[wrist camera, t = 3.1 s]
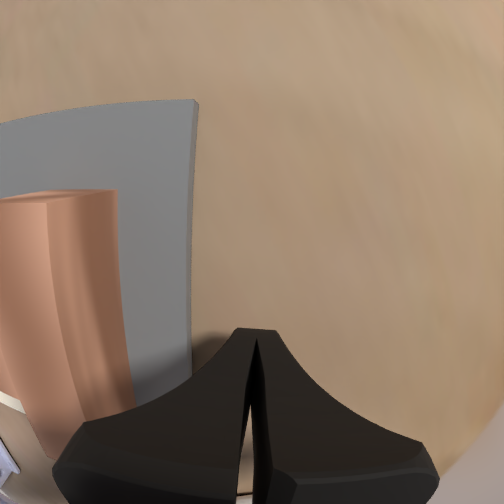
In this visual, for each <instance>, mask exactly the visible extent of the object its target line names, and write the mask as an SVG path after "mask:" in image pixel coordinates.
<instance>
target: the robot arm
mask: <svg viewBox="0 0 504 504" xmlns="http://www.w3.org/2000/svg"><path fill="white" fill-rule="evenodd" d="M250 405H251V418H252V435H253V451H254V475H253V493H252V504H426V503H427V502H428V501H429V499H430V498H431V497H432V495H433V494H434V492H435V491H436V489H437V487H438V485H439V480H440V478H439V475H438V473H437V471H436V469H435V466H434V464H433V462H432V459H431V457H430V455H429V454H428V452H427V450H426V448H425V447H424V445H423V444H422V442H419V441H416V440H413V439H411V438H408V437H405V436H402V435H400V434H397V433H394V432H392V431H389V430H387V429H385V428H383V427H381V426H379V425H377V424H375V423H373V422H371V421H369V420H367V419H365V418H363V417H361V416H360V415H358V414H356V413H355V412H353V411H352V410H350V409H349V408H347V407H346V406H344V405H343V404H341V403H340V402H338V401H337V400H336V399H334V398H333V397H332V396H331V395H329V394H328V393H327V392H326V391H325V390H324V389H322V388H321V387H320V386H319V385H318V384H317V383H316V382H315V381H314V380H313V379H312V378H311V377H310V376H309V375H308V374H307V373H306V372H305V370H304V369H303V368H302V367H301V366H300V364H299V363H298V362H297V361H296V359H295V358H294V357H293V355H292V354H291V353H290V351H289V350H288V348H287V347H286V345H285V344H284V342H283V340H282V339H281V337H280V335H279V334H278V332H277V331H276V330H263V329H249V328H237V329H235V330H234V332H233V333H232V335H231V336H230V338H229V339H228V340H227V342H226V343H225V344H224V345H223V347H222V348H221V349H220V350H219V351H218V352H217V353H216V354H215V355H214V357H213V358H212V359H211V360H210V361H208V362H207V363H206V364H205V365H204V366H203V367H202V368H201V369H200V370H199V371H198V372H196V373H195V374H194V375H193V376H191V377H190V378H189V379H187V380H186V381H185V382H183V383H182V384H180V385H179V386H177V387H176V388H174V389H173V390H171V391H169V392H167V393H165V394H164V395H162V396H160V397H158V398H156V399H154V400H152V401H150V402H148V403H145V404H143V405H141V406H138V407H136V408H133V409H130V410H127V411H125V412H122V413H118V414H115V415H111V416H107V417H103V418H99V419H95V420H91V421H86V422H83V423H82V425H81V426H80V427H79V429H78V430H77V431H76V432H75V433H74V435H73V436H72V437H71V439H70V440H69V442H68V444H67V445H66V447H65V448H64V450H63V452H62V453H61V455H60V457H59V458H58V460H57V461H56V463H55V465H54V466H53V468H52V473H53V478H54V480H55V482H56V484H57V486H58V488H59V490H60V491H61V492H62V494H63V495H64V497H65V498H66V500H67V501H68V502H69V504H236V498H237V486H238V474H239V464H240V458H241V452H242V447H243V442H244V437H245V431H246V426H247V421H248V416H249V410H250ZM12 471H13V472H15V473H17V474H19V473H20V470H19V468H18V467H17V465H16V464H15V462H14V461H13V459H12V457H11V456H10V454H9V453H8V451H7V450H6V448H5V446H4V445H3V443H2V441H1V440H0V488H1V487H2V485H3V484H4V482H5V481H6V479H7V478H8V476H9V475H10V473H11V472H12ZM0 504H18V503H16V502H14V501H13V500H11V499H9V498H8V497H6V496H4V495H3V494H1V493H0Z"/></svg>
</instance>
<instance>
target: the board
mask: <svg viewBox="0 0 504 504" xmlns="http://www.w3.org/2000/svg"><path fill="white" fill-rule="evenodd" d="M198 109H199V104H198V103H197V102H196V101H195V100H194V99H184V100H156V101H139V102H126V103H115V104H106V105H97V106H89V107H82V108H75V109H68V110H62V111H56V112H51V113H45V114H40V115H35V116H30V117H26V118H21V119H17V120H12V121H8V122H4V123H0V199H2V198H7V197H12V196H18V195H23V194H29V193H34V192H40V191H47V190H64V189H118V253H119V273H120V287H121V299H122V310H123V320H124V329H125V337H126V345H127V352H128V359H129V366H130V372H131V378H132V384H133V390H134V395H135V400H136V405H137V407H138V406H141V405H143V404H145V403H148V402H150V401H152V400H154V399H156V398H158V397H160V396H162V395H164V394H165V393H167V392H169V391H171V390H173V389H174V388H176V387H177V386H179V385H180V384H182V383H183V382H185V381H186V380H187V379H189V378H190V377H191V376H192V347H191V238H192V207H193V184H194V165H195V149H196V135H197V121H198ZM0 402H1V403H3V404H5V405H7V406H9V407H11V408H13V409H15V410H18V411H20V412H22V413H24V414H26V413H25V411H24V409H23V406H22V404H21V402H20V400H18V399H16V398H13V397H11V396H9V395H7V394H5V393H3V392H1V391H0Z"/></svg>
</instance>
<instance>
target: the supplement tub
mask: <svg viewBox="0 0 504 504" xmlns="http://www.w3.org/2000/svg"><path fill="white" fill-rule="evenodd" d="M236 504H252V495H245V496H238V497H237V498H236Z"/></svg>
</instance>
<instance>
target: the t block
mask: <svg viewBox="0 0 504 504" xmlns="http://www.w3.org/2000/svg"><path fill="white" fill-rule="evenodd" d="M0 391H1V392H3V393H5V394H7V395H9V396H11V397H13V398H16V399H18V400H20V402H21V404H22V406H23V409H24V411H25V413H26V415H27V418H28V420H29V422H30V424H31V426H32V428H33V430H34V432H35V434H36V436H37V438H38V440H39V442H40V444H41V446H42V448H43V450H44V451H45V453H46V455H47V457H50V458H52V459H54V460H58V458H59V457H60V455H61V453H62V452H63V450H64V448H65V447H66V445H67V444H68V442H69V440H70V439H71V437H72V436H73V435H74V433H75V432H76V431H77V430H78V429H79V427H80V426H81V425H82V423H83V422H86V421H91V420H95V419H99V418H103V417H107V416H111V415H115V414H118V413H122V412H125V411H127V410H130V409H133V408H136V407H137V405H136V400H135V395H134V390H133V384H132V378H131V372H130V366H129V359H128V352H127V345H126V337H125V329H124V320H123V310H122V299H121V287H120V273H119V253H118V189H64V190H47V191H40V192H34V193H29V194H23V195H18V196H12V197H7V198H2V199H0Z"/></svg>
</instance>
